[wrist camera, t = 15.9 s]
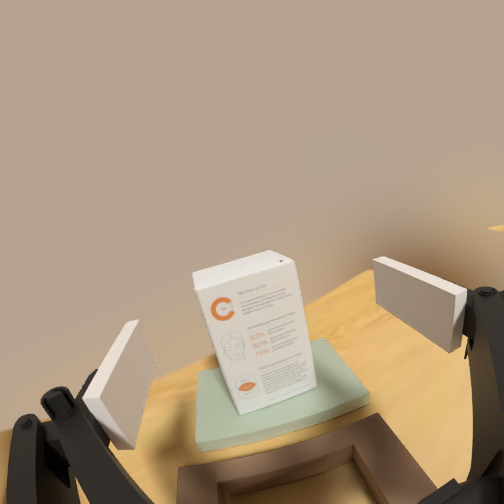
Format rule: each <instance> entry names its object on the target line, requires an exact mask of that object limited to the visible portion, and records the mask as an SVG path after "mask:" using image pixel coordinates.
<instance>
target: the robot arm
mask: <svg viewBox="0 0 504 504" xmlns="http://www.w3.org/2000/svg"><path fill="white" fill-rule="evenodd" d="M373 268H374V280H375V294H376V304H378V305H379V306H381V307H382V308H384V309H385V310H387V311H388V312H390V313H391V314H393V315H394V316H396V317H397V318H399V319H400V320H402V321H403V322H404V323H406V324H407V325H409V326H410V327H412V328H413V329H415V330H416V331H418V332H419V333H421V334H422V335H423V336H425V337H426V338H428V339H429V340H431V341H432V342H434V343H435V344H436V345H438V346H439V347H441V348H442V349H444V350H445V351H446V352H448V353H451V352H453V351H454V350H456V349H457V348H459V347H460V346H461V341H462V334H463V335H465V336H467V337H468V340H467V346H466V351H465V356H464V359H466V357H467V355H468V358H469V366H470V376H471V387H472V404H473V445H472V461H471V468H470V472H469V475H468V477H467V480H466V481H465V482H462V483H458V482H457V481H456V480H455V479H454V478H453V479H452V480H450V481H449V482H448V483H446V484H445V485H443V486H442V487H440V488H439V489H437V490H436V491H434V492H433V493H431V494H430V495H428V496H426V497H425V498H423V499H421V500H420V501H419V502H418V503H417V504H504V291H500V292H498V291H497V290H496V289H495V288H492V287H479V288H476V289H475V290H474V291H472V290H470V289H468V288H465V287H463V286H460V285H456V284H455V283H453V282H450V281H448V280H445V279H443V278H439V277H436V276H434V275H431V274H429V273H426V272H423V271H421V270H418V269H415V268H413V267H411V266H408V265H405V264H402V263H400V262H397V261H395V260H392V259H389V258H387V257H384V256H383V257H379V258H376V259H373ZM156 364H157V362H156V359H155V357H154V355H153V352H152V350H151V347H150V345H149V343H148V341H147V338H146V335H145V333H144V330H143V327H142V325H141V322H140V320H134V321H129V322H127V323H126V324H125V326H124V327H123V329H122V331H121V332H120V334H119V336H118V337H117V339H116V341H115V342H114V344H113V345H112V347H111V349H110V351H109V352H108V354H107V355H106V357H105V359H104V361H103V362H102V364H101V366H100V367H99V369H96V370H95V371H93V373H91V374H90V375H89V376H88V378H87V380H86V381H85V384H84V385H83V386H82V389H81V390H80V392H79V393H78V395H77V397H76V399H74V398H73V396H72V394H71V393H70V391H69V389H68V388H66V387H63V386H61V387H56V388H53V389H51V390H49V391H48V392H46V393H45V394H44V395H43V397H42V398H41V405H42V406H43V408H44V409H45V411H46V412H47V414H48V415H49V417H50V418H51V420H52V421H48V422H43V423H41V422H40V420H39V419H38V418H37V416H36V415H34V414H27V415H23V416H21V418H19V419H18V420H17V421H16V423H15V425H14V428H13V434H12V440H11V447H10V455H9V464H8V476H7V504H80V499H79V494H78V490H77V484H76V479H75V476H76V478H77V480H78V482H79V484H80V486H81V488H82V490H83V492H84V493H85V495H86V497H87V499H88V501H89V502H90V504H154V503H153V502H152V501H151V500H150V499H149V497H148V496H147V495H146V494H145V493H144V492H143V491H142V490H141V488H140V487H139V486H138V485H137V484H136V483H135V481H134V480H133V479H132V478H131V476H130V475H129V474H128V473H127V471H126V470H125V469H124V468H123V466H122V465H121V464H120V462H119V461H118V460H117V458H116V457H115V456H114V454H113V453H112V452H111V450H110V449H109V448H108V446H109V443H110V440H111V442H112V443H113V444H114V446H115V447H116V448H117V450H134V449H135V445H136V440H137V436H138V432H139V428H140V424H141V420H142V416H143V412H144V408H145V404H146V400H147V396H148V392H149V389H150V385H151V381H152V378H153V374H154V370H155V367H156Z"/></svg>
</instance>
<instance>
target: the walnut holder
mask: <svg viewBox="0 0 504 504" xmlns="http://www.w3.org/2000/svg"><path fill="white" fill-rule="evenodd" d="M351 461H354V463H355V465H356V467H357V468H358V470H359V472H360V474H361V475H362V477H363V479H364V481H365V482H366V484H367V486H368V488H369V489H370V491H371V493H372V495H373V496H374V498H375V500H376V501H377V503H378V504H417V503H418V502H419V501H420V500H421V499H423V498H425V497H426V496H428V495H430V494H431V493H433V492H434V491H436V490H437V489H438V488H437V487H436V486H435V485H434V483H433V482H432V481H431V480H430V478H429V477H428V476H427V474H426V473H425V472H424V471H423V469H422V468H421V467H420V466H419V464H418V463H417V462H416V460H415V459H414V458H413V457H412V455H411V454H410V453H409V452H408V450H407V449H406V448H405V446H404V445H403V444H402V443H401V441H400V440H399V439H398V437H397V436H396V435H395V434H394V432H393V431H392V430H391V429H390V427H389V426H388V425H387V423H386V422H385V421H384V420H383V418H382V417H381V416H380V415H379V413H378V412H377V413H375V414H373V415H371V416H369V417H367V418H364V419H362V420H360V421H357V422H355V423H353V424H350V425H348V426H345V427H343V428H340V429H338V430H335V431H332V432H330V433H327V434H324V435H321V436H319V437H316V438H313V439H310V440H307V441H304V442H300V443H297V444H294V445H291V446H287V447H284V448H280V449H276V450H273V451H269V452H265V453H261V454H256V455H252V456H247V457H243V458H238V459H232V460H227V461H221V462H215V463H208V464H201V465H193V466H184V467H178V482H177V504H228V502H227V496H229V495H235V494H241V493H247V492H252V491H257V490H262V489H266V488H270V487H275V486H279V485H283V484H286V483H290V482H294V481H297V480H300V479H304V478H307V477H310V476H313V475H316V474H319V473H322V472H325V471H328V470H331V469H333V468H336V467H339V466H341V465H344V464H346V463H349V462H351Z"/></svg>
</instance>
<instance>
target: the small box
mask: <svg viewBox="0 0 504 504" xmlns="http://www.w3.org/2000/svg"><path fill="white" fill-rule="evenodd" d="M192 280H193V287H194V293H195V296H196V298H197V301H198V305H199V307H200V310H201V313H202V316H203V319H204V322H205V325H206V328H207V331H208V334H209V337H210V340H211V343H212V346H213V349H214V351H215V354H216V357H217V360H218V363H219V365H220V368H221V371H222V374H223V376H224V379H225V382H226V384H227V387H228V389H229V392H230V394H231V397H232V399H233V402H234V404H235V407H236V409H237V411H238V413H239V415H244V414H247V413H250V412H253V411H256V410H258V409H261V408H264V407H267V406H270V405H273V404H275V403H278V402H281V401H283V400H286V399H288V398H291V397H293V396H296V395H298V394H301V393H303V392H306V391H308V390H310V389H313V388H315V387H317V381H316V374H315V368H314V361H313V355H312V349H311V343H310V338H309V332H308V327H307V322H306V317H305V311H304V306H303V301H302V295H301V290H300V285H299V281H298V275H297V271H296V265H295V261H293V260H291V259H289V258H288V257H285V256H283V255H281V254H278V253H276V252H273V251H270V250H268V251H265V252H261V253H258V254H255V255H251V256H248V257H244V258H241V259H237V260H234V261H231V262H227V263H224V264H221V265H217V266H213V267H210V268H207V269H203V270H200V271H196V272H193V273H192Z"/></svg>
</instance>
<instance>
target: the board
mask: <svg viewBox="0 0 504 504" xmlns="http://www.w3.org/2000/svg"><path fill="white" fill-rule="evenodd" d="M310 343H311V349H312V355H313V361H314V368H315V374H316V381H317V387H315V388H313V389H310V390H308V391H306V392H303V393H301V394H298V395H296V396H293V397H291V398H288V399H286V400H283V401H281V402H278V403H275V404H273V405H270V406H267V407H264V408H261V409H258V410H256V411H253V412H250V413H247V414H244V415H239V413H238V411H237V409H236V407H235V404H234V402H233V399H232V397H231V394H230V392H229V389H228V387H227V384H226V382H225V379H224V376H223V374H222V371H221V368H220V367H218V368H213V369H209V370H204V371H200V372H198V376H197V398H196V428H195V444H196V445H197V447H198V448H199V450H200V452H207V451H213V450H219V449H225V448H230V447H235V446H240V445H245V444H249V443H254V442H258V441H262V440H266V439H270V438H273V437H277V436H281V435H284V434H288V433H291V432H294V431H298V430H301V429H304V428H307V427H310V426H313V425H316V424H319V423H322V422H324V421H327V420H330V419H333V418H335V417H338V416H340V415H343V414H345V413H348V412H350V411H353V410H355V409H358V408H360V407H362V406H364V405H367V404H369V391H368V390H367V389H366V388H365V387H364V385H363V384H362V383H361V382H360V380H359V379H358V378H357V377H356V376H355V374H354V373H353V372H352V371H351V369H350V368H349V367H348V366H347V365H346V363H345V362H344V361H343V360H342V359H341V357H340V356H339V355H338V354H337V352H336V351H335V350H334V349H333V348H332V346H331V345H330V344H329V343H328V341H327V340H326V339H325V338H324V337H323V338H320V339H317V340H314V341H311V342H310Z"/></svg>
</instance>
